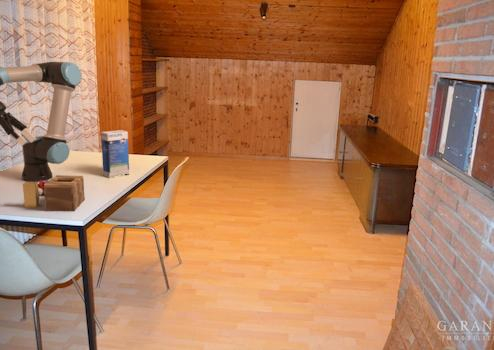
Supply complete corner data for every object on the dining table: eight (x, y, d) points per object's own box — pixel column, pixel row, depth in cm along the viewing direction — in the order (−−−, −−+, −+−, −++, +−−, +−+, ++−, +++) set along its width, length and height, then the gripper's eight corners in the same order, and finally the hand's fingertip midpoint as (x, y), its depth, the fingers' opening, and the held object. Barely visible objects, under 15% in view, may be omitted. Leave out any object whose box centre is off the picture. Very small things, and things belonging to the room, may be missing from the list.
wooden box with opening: (58, 199, 200) (56, 175, 197) (84, 200, 201) (83, 175, 198) (45, 211, 185) (43, 184, 182) (74, 211, 186) (72, 185, 183)
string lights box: (123, 172, 254) (121, 129, 248) (130, 174, 249) (128, 131, 243) (102, 175, 245) (100, 131, 238) (109, 178, 240) (107, 133, 233)
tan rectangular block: (28, 205, 191) (26, 181, 188) (39, 205, 192) (37, 181, 189) (24, 207, 188) (22, 183, 185) (36, 207, 188) (34, 184, 186)
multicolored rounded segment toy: (39, 191, 212) (38, 177, 210) (59, 191, 212) (58, 178, 211) (32, 196, 203) (30, 182, 202) (52, 197, 204) (51, 182, 202)
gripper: (-3, 110, 199) (31, 144, 204) (-26, 112, 175) (13, 150, 180) (9, 100, 199) (43, 134, 205) (-12, 100, 175) (27, 139, 181)
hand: (29, 142), depth 193 cm, fingers open, 13 cm apart
